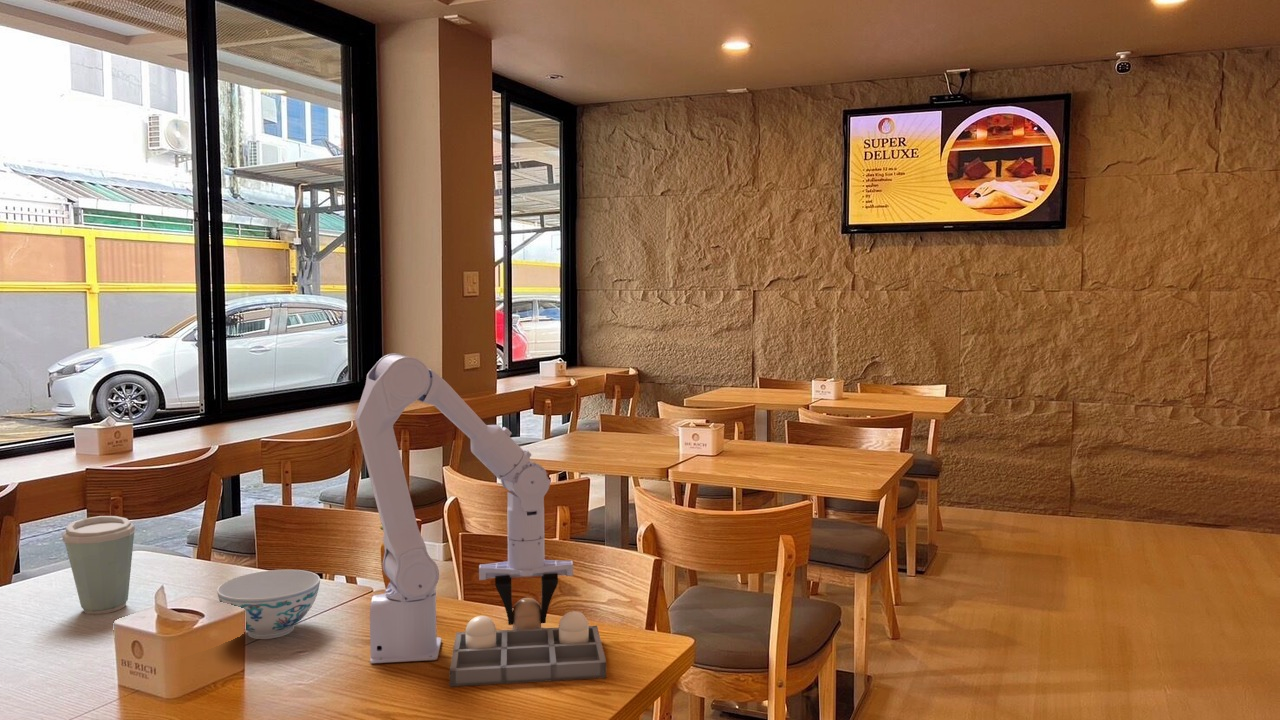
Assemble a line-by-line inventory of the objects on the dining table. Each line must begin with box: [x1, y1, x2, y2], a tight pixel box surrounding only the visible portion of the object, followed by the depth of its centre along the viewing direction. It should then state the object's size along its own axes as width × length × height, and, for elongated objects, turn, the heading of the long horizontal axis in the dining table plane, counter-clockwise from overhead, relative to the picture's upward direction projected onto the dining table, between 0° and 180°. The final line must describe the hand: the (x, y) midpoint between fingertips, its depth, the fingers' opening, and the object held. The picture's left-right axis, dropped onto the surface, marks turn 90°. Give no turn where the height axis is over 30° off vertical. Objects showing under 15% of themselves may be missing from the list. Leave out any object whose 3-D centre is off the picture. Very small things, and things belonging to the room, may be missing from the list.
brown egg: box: [512, 597, 542, 630], centre depth 145 cm, size 4×4×5 cm
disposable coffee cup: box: [61, 515, 137, 615], centre depth 156 cm, size 11×11×15 cm
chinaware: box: [216, 569, 321, 640], centre depth 146 cm, size 15×15×8 cm
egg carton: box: [449, 610, 607, 688], centre depth 133 cm, size 21×14×6 cm
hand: (527, 621), depth 145 cm, fingers closed on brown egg, 4 cm apart
